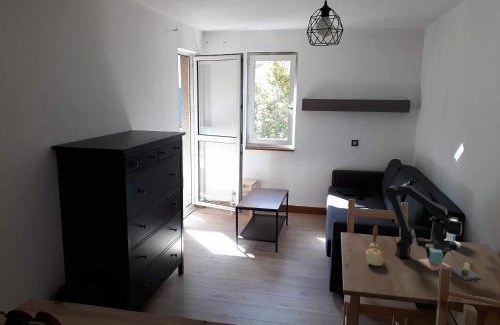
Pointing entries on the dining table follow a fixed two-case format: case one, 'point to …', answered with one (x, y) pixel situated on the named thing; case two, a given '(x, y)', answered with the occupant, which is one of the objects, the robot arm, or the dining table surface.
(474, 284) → the dining table surface
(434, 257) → the teal cube
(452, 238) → the white stand
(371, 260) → the apple
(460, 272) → the post base
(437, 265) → the tile
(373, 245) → the hand bell
